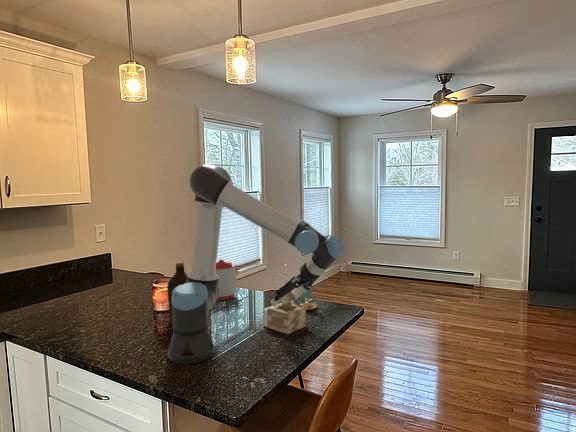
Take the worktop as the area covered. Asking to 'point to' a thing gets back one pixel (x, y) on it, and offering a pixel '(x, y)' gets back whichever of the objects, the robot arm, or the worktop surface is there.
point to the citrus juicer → (226, 279)
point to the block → (286, 318)
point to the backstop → (266, 315)
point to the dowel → (287, 302)
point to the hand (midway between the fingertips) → (284, 300)
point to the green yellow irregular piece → (307, 295)
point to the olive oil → (176, 284)
